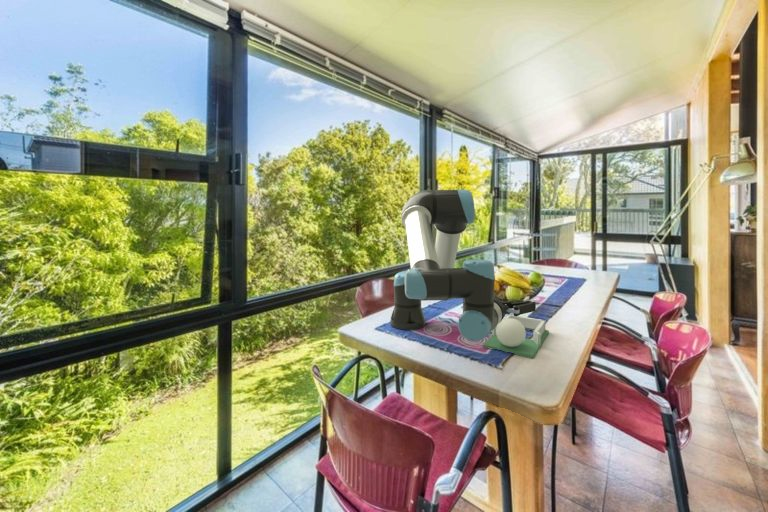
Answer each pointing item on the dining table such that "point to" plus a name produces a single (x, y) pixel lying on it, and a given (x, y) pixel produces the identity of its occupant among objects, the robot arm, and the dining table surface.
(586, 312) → the dining table surface
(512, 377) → the dining table surface
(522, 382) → the dining table surface
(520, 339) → the ball
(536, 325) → the green tray
